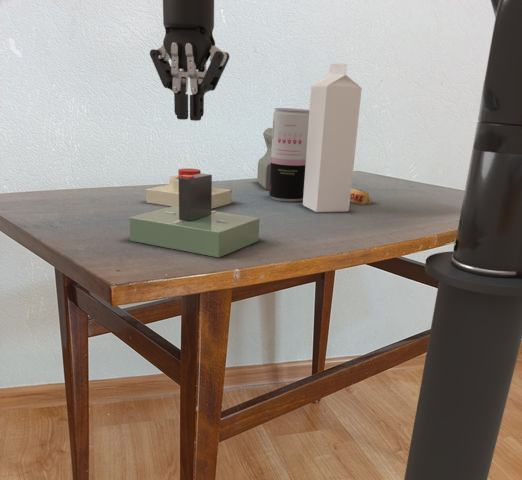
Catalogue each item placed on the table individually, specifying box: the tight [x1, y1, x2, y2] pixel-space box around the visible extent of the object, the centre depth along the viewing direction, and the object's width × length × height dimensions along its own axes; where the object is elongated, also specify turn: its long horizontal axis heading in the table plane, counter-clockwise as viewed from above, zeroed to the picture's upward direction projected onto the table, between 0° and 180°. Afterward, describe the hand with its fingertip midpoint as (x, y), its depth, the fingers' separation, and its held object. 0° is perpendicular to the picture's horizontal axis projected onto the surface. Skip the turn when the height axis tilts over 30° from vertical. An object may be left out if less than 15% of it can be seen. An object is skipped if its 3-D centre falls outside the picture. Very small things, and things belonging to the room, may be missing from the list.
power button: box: [177, 167, 202, 179], centre depth 97 cm, size 4×4×2 cm
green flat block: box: [128, 205, 260, 258], centre depth 75 cm, size 13×10×3 cm
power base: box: [145, 175, 233, 210], centre depth 98 cm, size 11×9×4 cm
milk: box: [302, 63, 363, 213], centre depth 95 cm, size 6×6×22 cm
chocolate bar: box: [350, 188, 372, 206], centre depth 109 cm, size 3×12×2 cm, turn 35°
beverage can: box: [268, 107, 310, 203], centre depth 103 cm, size 6×6×15 cm
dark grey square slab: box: [179, 173, 213, 221], centre depth 73 cm, size 5×2×5 cm, turn 152°
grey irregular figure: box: [256, 127, 273, 191], centre depth 117 cm, size 16×9×11 cm, turn 179°
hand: (189, 119), depth 93 cm, fingers closed
